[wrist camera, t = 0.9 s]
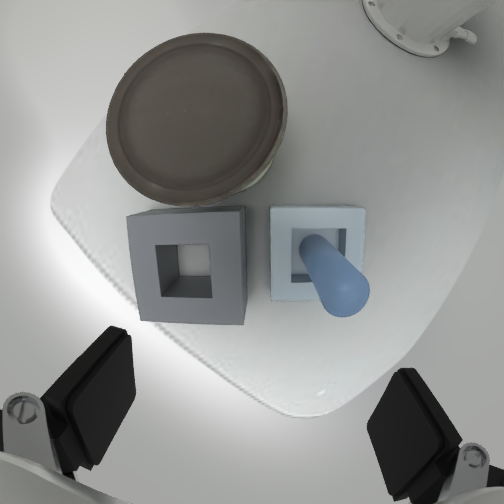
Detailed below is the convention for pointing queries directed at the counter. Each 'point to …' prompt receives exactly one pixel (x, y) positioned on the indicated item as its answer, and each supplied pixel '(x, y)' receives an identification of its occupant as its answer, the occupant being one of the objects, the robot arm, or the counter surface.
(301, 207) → the square frame plate
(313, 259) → the plug
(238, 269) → the port
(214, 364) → the counter surface
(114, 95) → the coffee can
